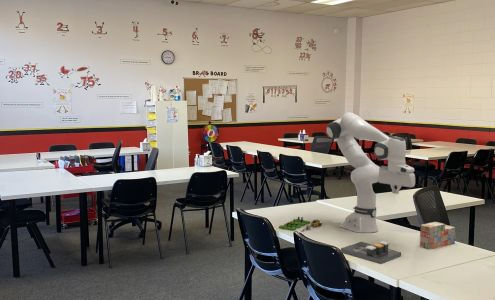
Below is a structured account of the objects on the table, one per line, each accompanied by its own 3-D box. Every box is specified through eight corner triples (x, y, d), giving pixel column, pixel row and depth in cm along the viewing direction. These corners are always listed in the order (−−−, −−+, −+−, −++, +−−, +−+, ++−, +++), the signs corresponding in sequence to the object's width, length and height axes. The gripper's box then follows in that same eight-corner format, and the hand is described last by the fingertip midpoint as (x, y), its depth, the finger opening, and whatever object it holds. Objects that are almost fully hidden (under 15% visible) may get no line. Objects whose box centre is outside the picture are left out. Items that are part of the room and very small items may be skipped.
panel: (340, 252, 249) (340, 248, 249) (361, 245, 261) (361, 241, 261) (381, 263, 231) (381, 259, 231) (401, 256, 243) (401, 251, 243)
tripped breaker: (373, 251, 243) (373, 245, 242) (377, 250, 245) (377, 243, 245) (379, 253, 240) (379, 246, 240) (383, 251, 242) (383, 245, 242)
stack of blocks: (445, 241, 271) (446, 219, 270) (455, 243, 266) (456, 221, 264) (419, 246, 260) (420, 224, 259) (429, 249, 255) (430, 226, 253)
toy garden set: (296, 221, 314) (296, 214, 313) (323, 225, 304) (323, 218, 303) (278, 229, 295) (278, 221, 294) (307, 234, 284) (307, 226, 284)
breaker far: (379, 249, 247) (379, 242, 247) (382, 247, 249) (383, 241, 249) (385, 250, 244) (385, 244, 244) (389, 249, 247) (389, 242, 246)
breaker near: (365, 253, 239) (365, 247, 239) (369, 252, 241) (369, 245, 241) (371, 255, 236) (371, 248, 236) (375, 254, 239) (376, 247, 238)
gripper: (376, 165, 260) (375, 191, 261) (411, 170, 245) (409, 196, 246) (382, 165, 264) (381, 189, 266) (417, 169, 249) (416, 195, 250)
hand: (395, 193), depth 256 cm, fingers closed
